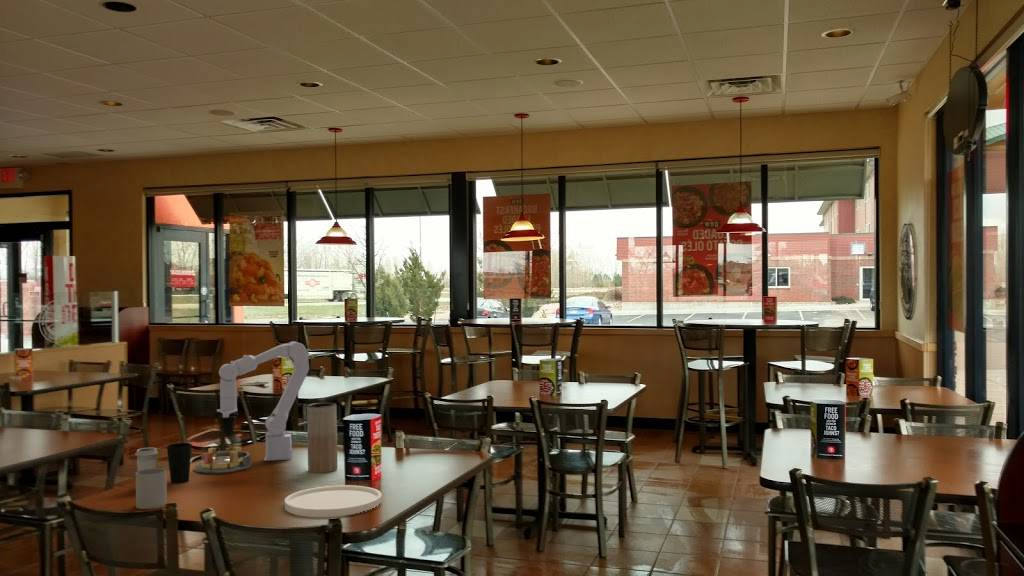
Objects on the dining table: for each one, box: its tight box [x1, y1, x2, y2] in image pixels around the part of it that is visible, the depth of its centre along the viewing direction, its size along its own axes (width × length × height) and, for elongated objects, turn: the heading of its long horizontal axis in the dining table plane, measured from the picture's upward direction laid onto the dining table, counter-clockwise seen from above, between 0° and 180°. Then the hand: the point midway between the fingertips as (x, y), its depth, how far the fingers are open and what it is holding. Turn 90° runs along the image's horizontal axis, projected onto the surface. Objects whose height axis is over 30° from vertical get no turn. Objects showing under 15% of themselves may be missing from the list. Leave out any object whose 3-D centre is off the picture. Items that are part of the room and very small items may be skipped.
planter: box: [306, 402, 338, 474], centre depth 292 cm, size 10×10×23 cm
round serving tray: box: [194, 450, 252, 475], centre depth 297 cm, size 19×19×4 cm
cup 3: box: [166, 442, 193, 484], centre depth 278 cm, size 8×8×12 cm
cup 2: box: [135, 467, 168, 510], centre depth 248 cm, size 8×8×10 cm
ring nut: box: [199, 446, 243, 469], centre depth 297 cm, size 15×15×5 cm
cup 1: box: [135, 447, 159, 471], centre depth 271 cm, size 7×7×12 cm
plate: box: [284, 484, 383, 518], centre depth 247 cm, size 28×28×2 cm
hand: (229, 434), depth 305 cm, fingers open, 3 cm apart
